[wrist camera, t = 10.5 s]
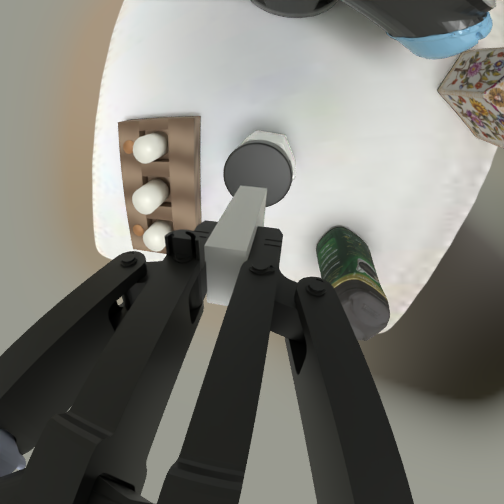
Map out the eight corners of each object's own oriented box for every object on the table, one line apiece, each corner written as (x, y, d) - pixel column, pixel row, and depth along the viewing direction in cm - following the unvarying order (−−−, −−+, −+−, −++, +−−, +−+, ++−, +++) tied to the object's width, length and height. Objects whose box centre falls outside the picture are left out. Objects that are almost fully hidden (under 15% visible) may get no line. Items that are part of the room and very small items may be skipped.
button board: (127, 120, 40) (117, 122, 37) (200, 116, 39) (193, 117, 36) (139, 241, 53) (132, 249, 51) (202, 249, 52) (197, 258, 49)
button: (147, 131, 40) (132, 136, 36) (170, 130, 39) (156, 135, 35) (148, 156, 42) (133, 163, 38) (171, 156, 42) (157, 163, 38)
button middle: (145, 178, 43) (130, 188, 39) (168, 179, 42) (154, 189, 38) (147, 201, 45) (134, 213, 41) (169, 203, 45) (157, 215, 41)
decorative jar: (475, 139, 31) (541, 170, 16) (434, 91, 29) (503, 99, 14) (500, 97, 25) (567, 114, 10) (462, 49, 23) (529, 43, 8)
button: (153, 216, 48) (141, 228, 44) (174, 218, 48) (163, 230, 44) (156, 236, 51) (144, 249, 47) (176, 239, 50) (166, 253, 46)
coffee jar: (308, 250, 49) (310, 326, 33) (337, 218, 44) (355, 288, 29) (346, 276, 50) (360, 353, 35) (375, 248, 46) (402, 322, 31)
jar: (269, 191, 44) (261, 223, 34) (230, 161, 42) (208, 183, 32) (305, 151, 39) (309, 171, 29) (264, 118, 38) (252, 125, 28)
